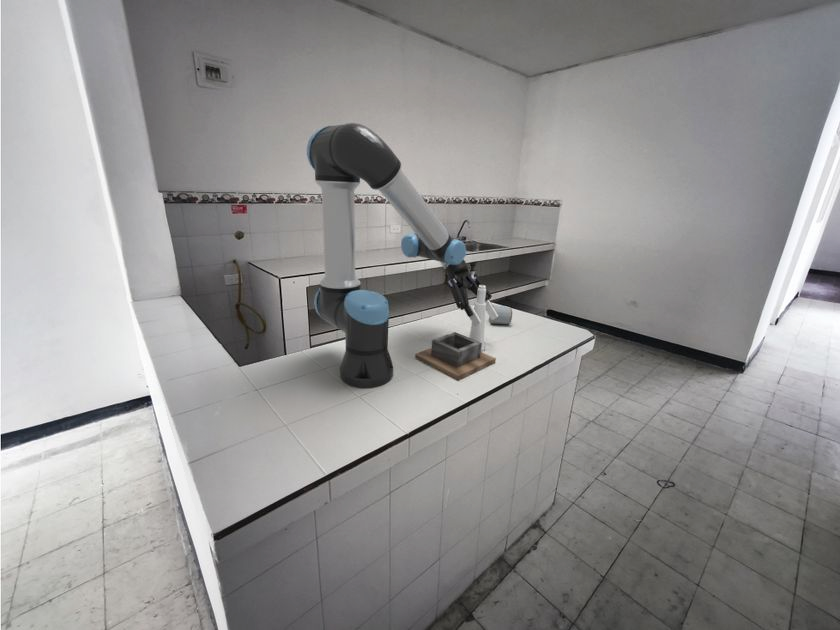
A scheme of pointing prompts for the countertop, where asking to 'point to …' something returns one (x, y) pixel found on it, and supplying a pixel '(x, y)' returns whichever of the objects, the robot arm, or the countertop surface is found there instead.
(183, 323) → the countertop surface
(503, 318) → the ceramic mug
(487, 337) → the countertop surface
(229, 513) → the countertop surface
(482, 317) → the cosmetic bottle
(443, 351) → the bottle holder
